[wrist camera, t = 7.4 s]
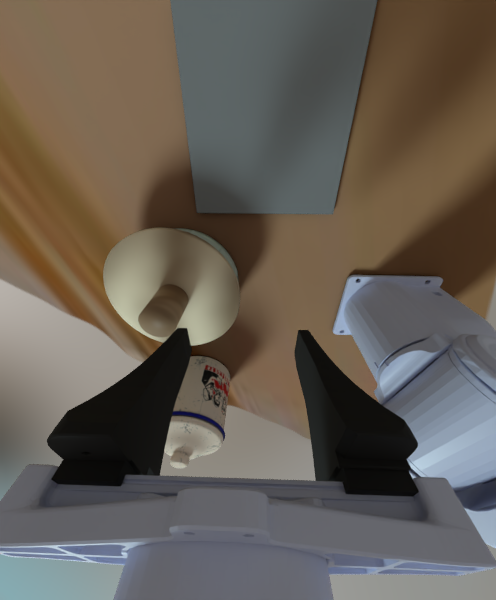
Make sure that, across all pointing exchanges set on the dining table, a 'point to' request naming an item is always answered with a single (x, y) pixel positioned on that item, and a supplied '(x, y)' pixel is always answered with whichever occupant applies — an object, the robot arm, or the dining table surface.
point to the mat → (269, 99)
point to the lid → (172, 285)
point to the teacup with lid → (198, 412)
